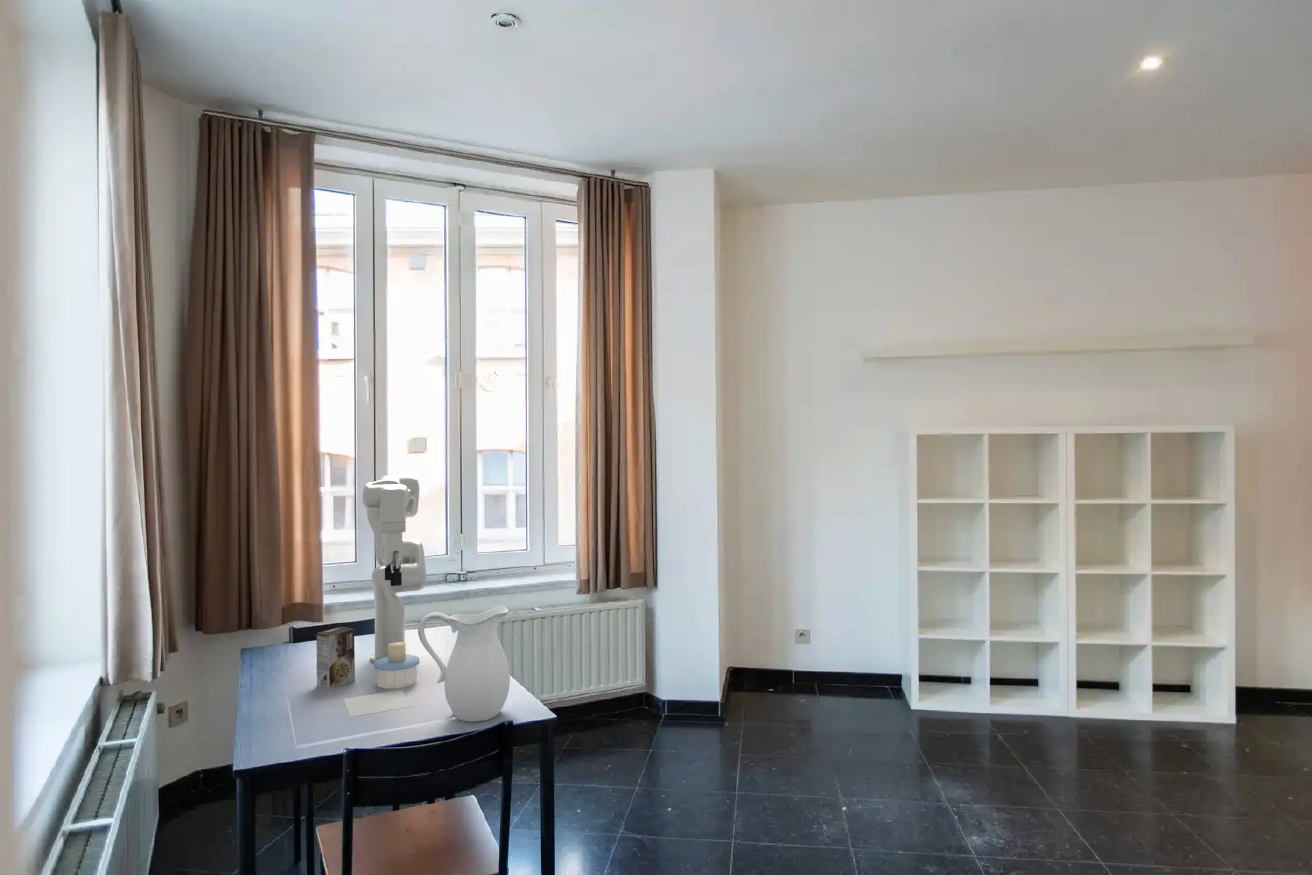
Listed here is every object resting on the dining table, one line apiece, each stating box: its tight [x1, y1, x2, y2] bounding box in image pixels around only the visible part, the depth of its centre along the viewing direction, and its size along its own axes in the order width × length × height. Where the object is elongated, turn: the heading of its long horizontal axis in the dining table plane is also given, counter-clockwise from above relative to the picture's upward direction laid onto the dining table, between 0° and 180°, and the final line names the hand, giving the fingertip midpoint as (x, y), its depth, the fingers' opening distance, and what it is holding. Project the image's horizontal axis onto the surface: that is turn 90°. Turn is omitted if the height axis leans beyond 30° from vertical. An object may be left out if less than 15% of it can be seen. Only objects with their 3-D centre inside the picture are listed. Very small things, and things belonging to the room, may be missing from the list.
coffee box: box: [315, 626, 356, 689], centre depth 229 cm, size 9×6×16 cm
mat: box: [342, 689, 414, 718], centre depth 210 cm, size 16×16×1 cm
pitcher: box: [417, 605, 511, 723], centre depth 202 cm, size 24×17×28 cm
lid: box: [373, 642, 420, 671], centre depth 228 cm, size 13×13×6 cm
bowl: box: [376, 665, 418, 689], centre depth 228 cm, size 11×11×6 cm
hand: (393, 582), depth 234 cm, fingers open, 9 cm apart
